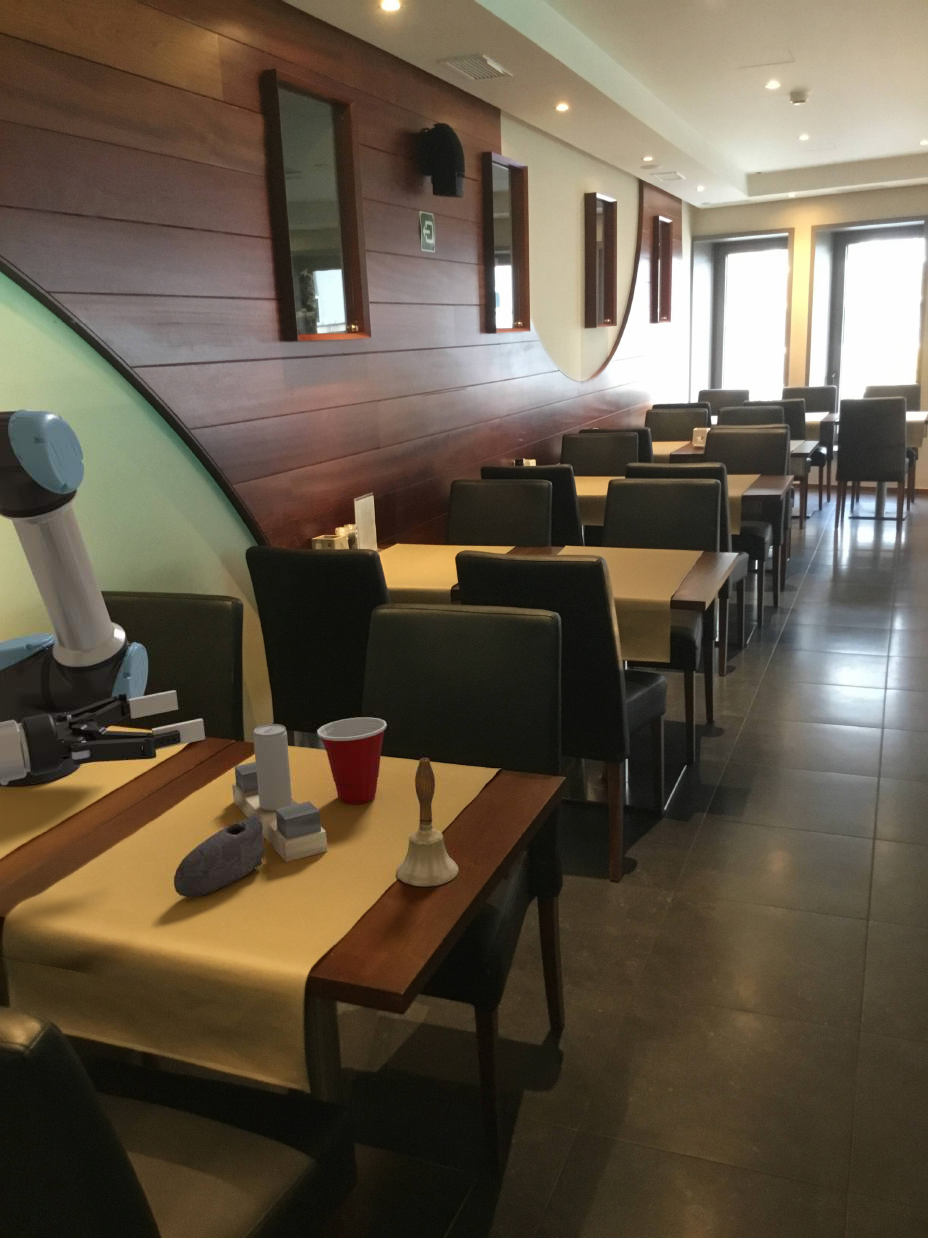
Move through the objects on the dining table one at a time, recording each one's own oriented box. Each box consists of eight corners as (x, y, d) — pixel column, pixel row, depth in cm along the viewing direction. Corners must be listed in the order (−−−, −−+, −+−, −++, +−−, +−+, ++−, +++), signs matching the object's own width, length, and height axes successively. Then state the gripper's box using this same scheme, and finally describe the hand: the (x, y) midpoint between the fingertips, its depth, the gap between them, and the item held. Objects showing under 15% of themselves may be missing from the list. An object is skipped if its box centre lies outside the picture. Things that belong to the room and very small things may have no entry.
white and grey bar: (233, 801, 158) (230, 766, 156) (270, 793, 161) (267, 758, 159) (286, 862, 137) (283, 821, 136) (327, 851, 140) (324, 811, 139)
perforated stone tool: (189, 913, 125) (183, 862, 124) (163, 900, 128) (157, 851, 127) (279, 865, 137) (275, 818, 135) (254, 855, 140) (250, 809, 138)
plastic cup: (361, 777, 166) (357, 708, 163) (404, 795, 158) (401, 723, 155) (307, 798, 158) (302, 726, 155) (350, 817, 151) (345, 742, 148)
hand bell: (435, 851, 139) (430, 743, 135) (471, 874, 133) (467, 760, 129) (384, 870, 134) (378, 758, 131) (419, 894, 128) (413, 777, 124)
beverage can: (299, 802, 149) (293, 726, 146) (278, 815, 145) (272, 737, 142) (273, 797, 151) (266, 722, 149) (252, 809, 147) (245, 732, 145)
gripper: (16, 744, 140) (169, 712, 150) (42, 811, 119) (218, 769, 129) (7, 693, 138) (163, 664, 148) (33, 752, 117) (212, 714, 127)
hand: (189, 713), depth 138 cm, fingers open, 13 cm apart
